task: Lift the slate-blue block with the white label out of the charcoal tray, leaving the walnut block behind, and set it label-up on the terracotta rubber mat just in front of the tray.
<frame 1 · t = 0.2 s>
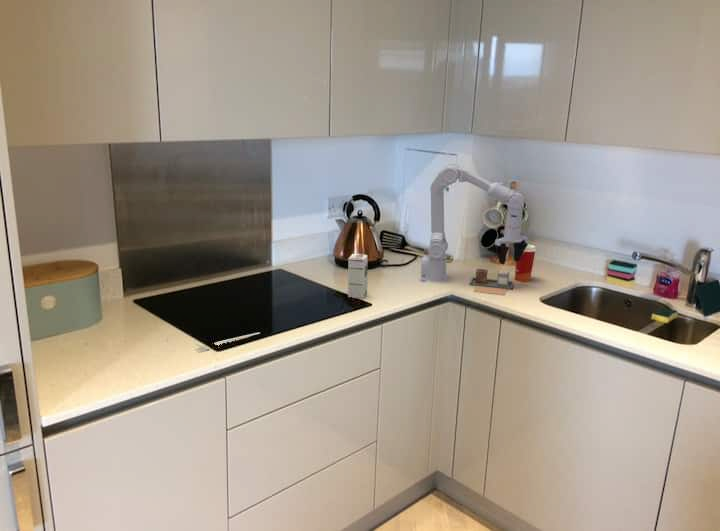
hand: (509, 262, 219), 10 cm above the worktop, tool pointing down, fingers open, 7 cm apart
parts tray: (491, 285, 223), on the worktop
walnut block: (480, 283, 224), resting on parts tray
syrup box: (357, 296, 208), on the worktop
fork: (230, 343, 167), on the worktop
rubber mat: (489, 291, 216), on the worktop
labelled block: (502, 285, 222), resting on parts tray
paper cup: (522, 281, 230), on the worktop
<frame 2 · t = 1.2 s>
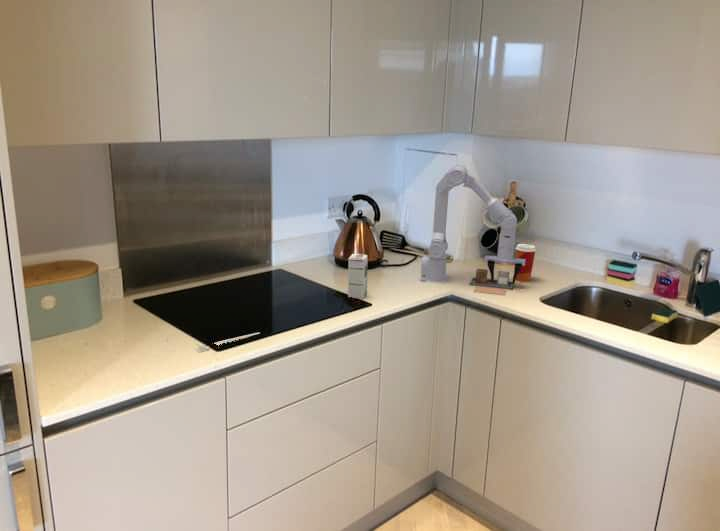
hand: (502, 281, 222), 2 cm above the worktop, tool pointing down, fingers open, 7 cm apart
nothing on the worktop moved.
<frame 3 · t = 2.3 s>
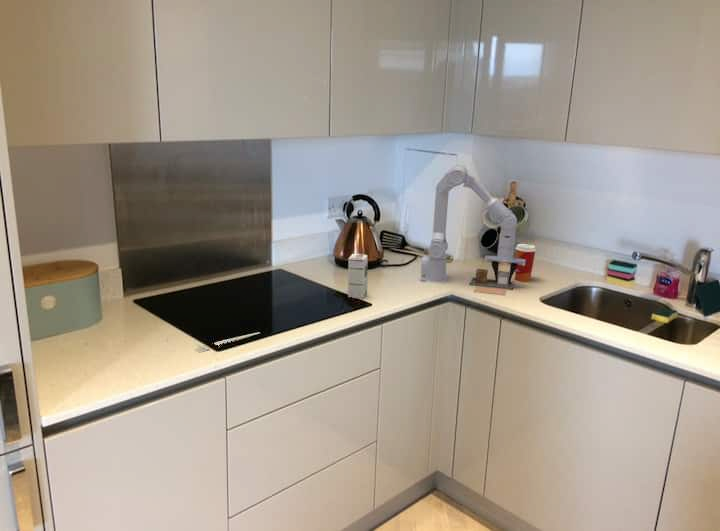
hand: (502, 281, 222), 2 cm above the worktop, tool pointing down, fingers closed on labelled block, 4 cm apart
labelled block: (502, 285, 222), resting on parts tray, touching gripper
everything else where it was.
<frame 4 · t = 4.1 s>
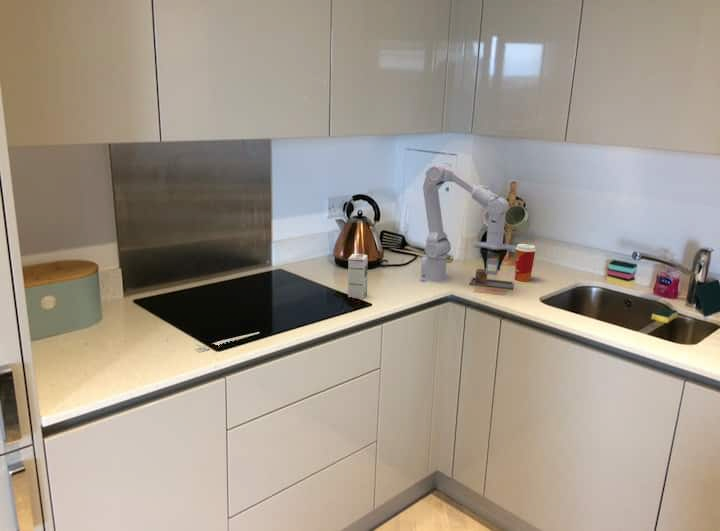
hand: (492, 269, 214), 9 cm above the worktop, tool pointing down, fingers closed on labelled block, 4 cm apart
labelled block: (491, 273, 214), point 7 cm above the worktop, touching gripper
everything else where it was.
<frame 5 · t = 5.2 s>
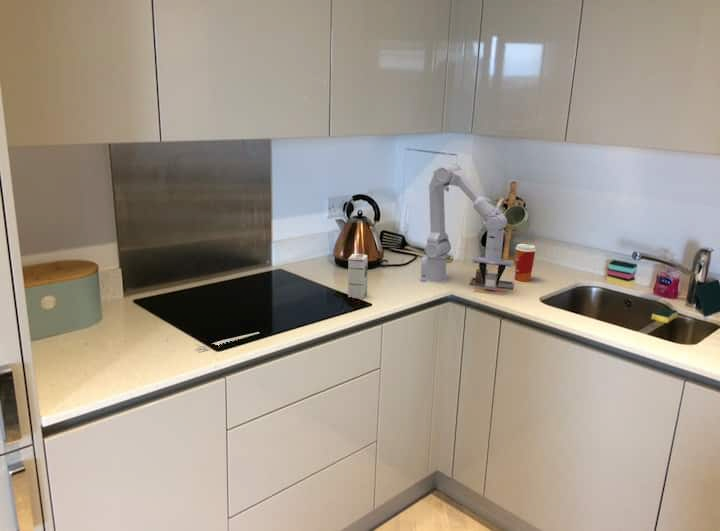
hand: (490, 283, 215), 3 cm above the worktop, tool pointing down, fingers closed on labelled block, 4 cm apart
labelled block: (490, 287, 216), point 1 cm above the worktop, touching gripper
everything else where it was.
when the fingers open (3 cm above the worktop, at t = 5.9 s): labelled block stays where it is, resting on rubber mat.
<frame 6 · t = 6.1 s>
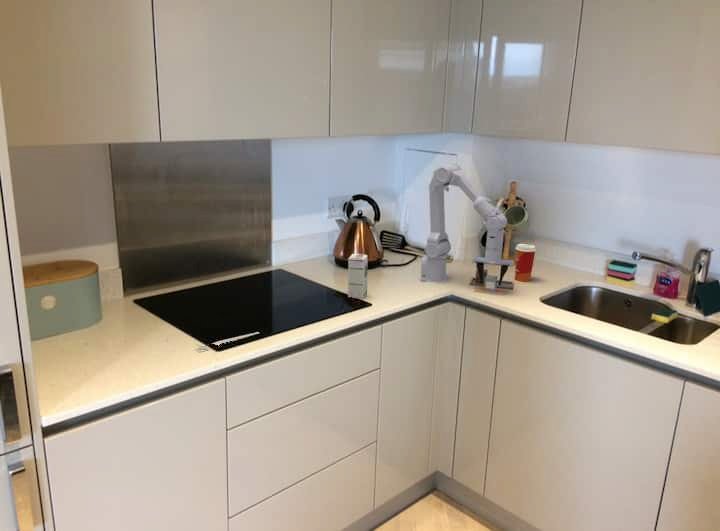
hand: (490, 283, 215), 3 cm above the worktop, tool pointing down, fingers open, 6 cm apart
labelled block: (490, 290, 216), point 1 cm above the worktop, touching rubber mat
everything else where it was.
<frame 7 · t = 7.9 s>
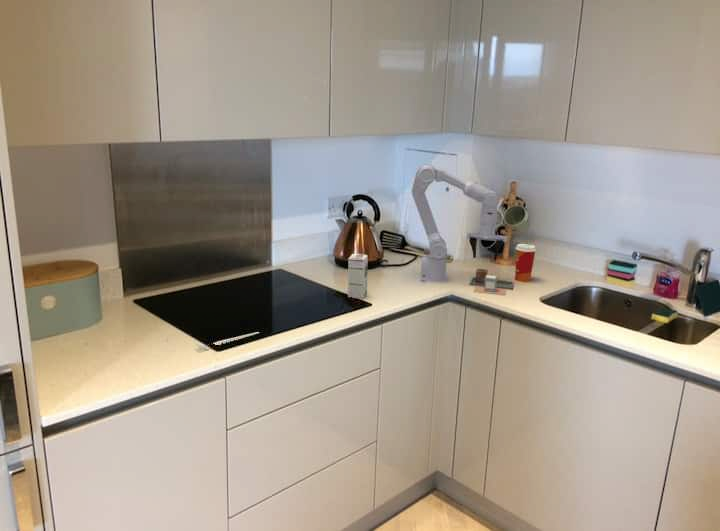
hand: (484, 258, 224), 9 cm above the worktop, tool pointing down, fingers open, 7 cm apart
nothing on the worktop moved.
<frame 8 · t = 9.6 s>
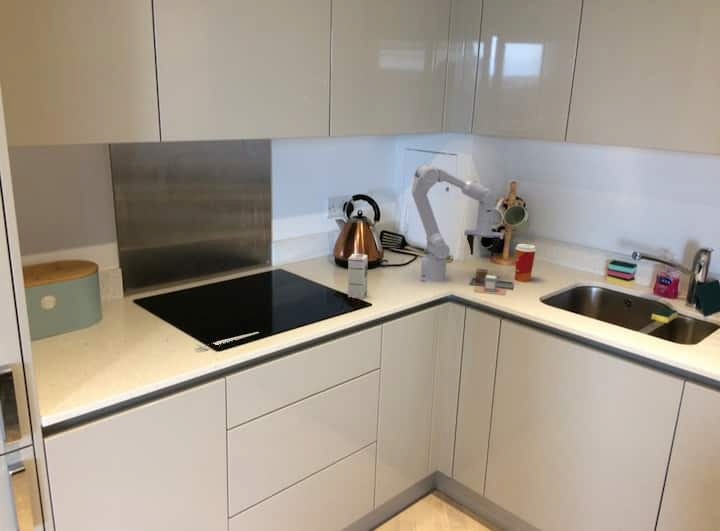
hand: (481, 255, 229), 9 cm above the worktop, tool pointing down, fingers open, 7 cm apart
nothing on the worktop moved.
at the end: labelled block 0.0 cm off-centre on the rubber mat, point 0.6 cm above the rubber mat's base; labelled block tilted 0°; walnut block moved 0.0 cm from its start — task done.
